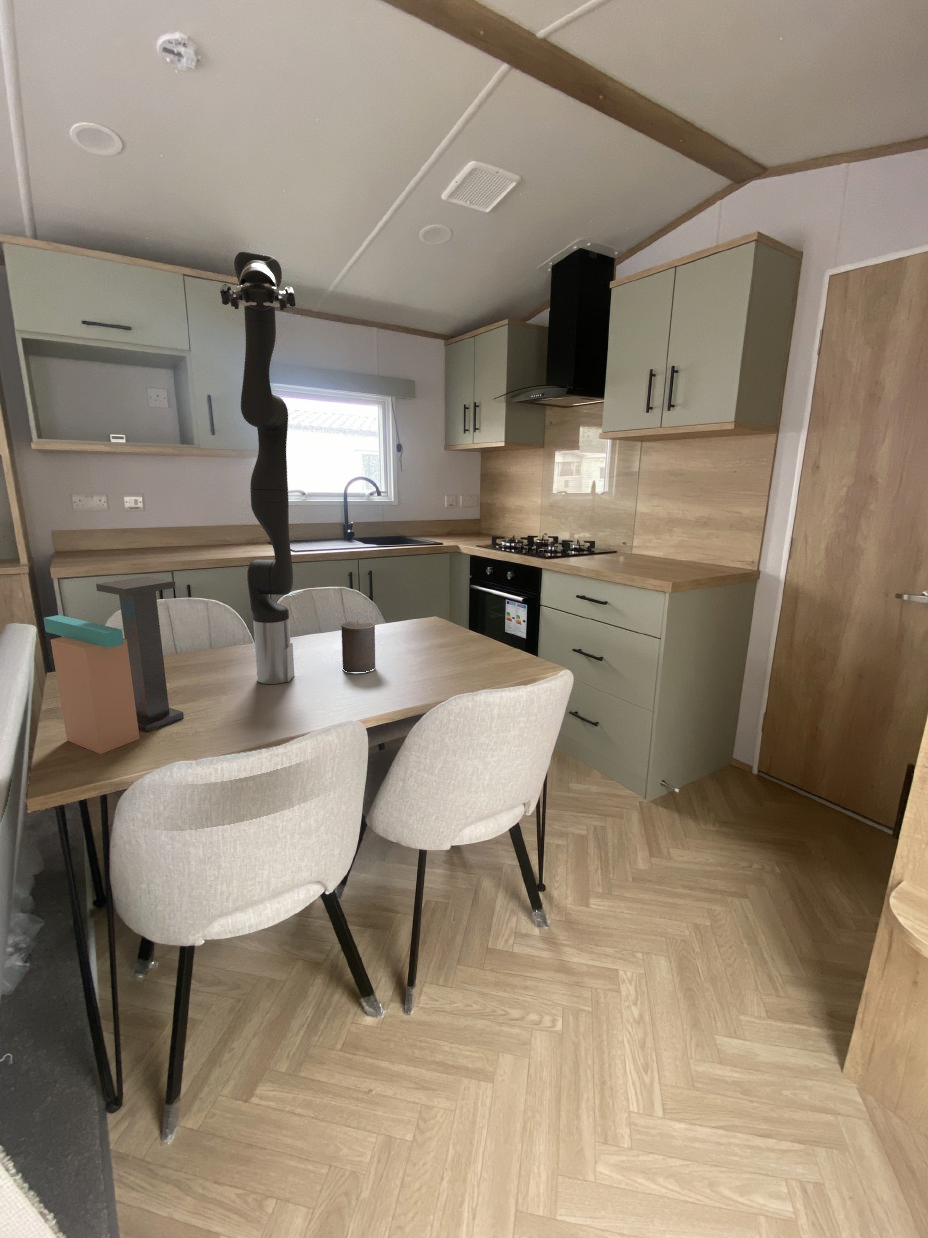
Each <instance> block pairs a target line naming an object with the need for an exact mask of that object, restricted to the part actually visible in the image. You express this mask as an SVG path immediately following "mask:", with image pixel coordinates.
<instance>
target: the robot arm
mask: <svg viewBox="0 0 928 1238" xmlns="http://www.w3.org/2000/svg"><path fill="white" fill-rule="evenodd" d="M233 261H234V262H233V268H234V273H235V277H236V278H237V281H238V284H239V285H236V287H235V288H232V287H231V286H230V285H229V284H227V283H224V284H222V285H221V287H220V289H219V293H220V297H221V303H222V305H224V306H227V305H229V304H230V307H232V308H233V307H234V310H239V309H240V308H239V307H241V306H242V307H243V308H244V309H243V310H244V329H245V331H244V332H245V350H244V351H245V353H244V367H243V368H244V369H243V376H242V385H241V386H242V387H241V394H240V396H241V397H240V412H241V415H242V417H243V419H244V420H245V422H247V424H249V425H251V426H252V427H254V428H257V437H258V452H257V453H258V454H257V458H256V460H255V461H256V462H255V464H254V467H253V470H252V473H251V477H250V486H249V487H250V507H251V510H252V511H251V512H252V513H253V515H254V517H255V518H256V520H257V522H258V523H259V524H260V526H261V527H262V529H263V530H264V532H265V533H266V535H267V536H268V539H269V540H270V542H271V545H272V549H273V554H274V559H253V560H252V561H250V563H249V565H248V567H247V573H246V575H247V577H246V578H247V580H246V581H247V586H248V587H247V589H248V593H249V602H250V603H249V604H250V610H251V613H252V618H253V619H252V622H253V624H252V625H253V637H254V639H253V640H254V650H255V651H254V652H255V665H256V676H257V681H258V683H260V684H264V685H276V684H283V683H290V682H291V680H292V679H293V677H294V676H295V662H294V660H295V659H294V646H293V645H294V644H293V642H291V631H290V629H291V627H290V612H289V608H288V607H287V606H285V605H283V604H280V603H278V602H276V601H274V600H273V599H272V598H271V597H270V596H269V595H274V596H275V595H276V596H284V595H286V596H287V595H289V594H290V593H291V591H292V590H293V585H294V584H293V583H294V569H293V561H292V552H291V550H292V549H291V544H290V542H291V540H290V526H289V525H290V524H289V521H290V520H289V517H290V516H289V515H290V514H289V513H290V512H289V510H290V509H289V506H290V505H289V504H290V503H289V485H288V464H287V462H288V461H287V444H288V443H287V442H288V441H287V440H288V426H289V424H288V423H289V410H288V407H287V405H286V402H285V401H284V399H283V398H282V397H280V396H279V395H277V394H275V393H273V392H272V386H271V380H270V369H271V367H270V366H271V361H272V357H273V353H274V349H275V345H276V340H277V339H276V334H277V331H276V330H277V329H276V328H277V326H276V308H278V307H279V310H280V311H284V310H285V309H287V308H288V305H289V307H291V308H294V307H296V295H295V291H294V289H293V287H292V286H290V285H289V286H285V288H284V290H280V289H279V288H280V286H281V284H282V279H283V276H282V275H283V273H282V271H283V270H282V267H281V264H280V262H279V261H278V259H276V257H274V256H271V255H268V254H261V253H255V252H251V251H250V252H249V251H239V252H238V253H237V254H236V255H235V257H234V260H233Z"/></svg>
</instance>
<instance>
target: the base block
mask: <svg viewBox="0 0 928 1238" xmlns="http://www.w3.org/2000/svg"><path fill="white" fill-rule="evenodd" d="M123 642H124V644H123V645H119V646H115V647H110V648H106V647H102V646H99V645H95V644H91V643H87V642H83V641H79V640H75V639H72V638H68V637H64V636H60V637H57V638H52V639H50V644H51V651H52V657H53V662H54V663H53V664H54V668H55V675H56V681H57V688H58V693H59V700H60V707H61V711H62V719H63V723H64V730H65V735H66V736H65V737H66V741H67V742H70V743H73V744H74V745H77V746H80V747H81V748H85V749H87V750H89V751H92V752H94V753H96V754H99V755H102V754H105V753H107V752H109V751H112V750H115V749H117V748H120V747H123V746H125V745H128V744H131V743H132V742H134V741H137V740H140V733H139V732H140V730H138V723H137V715H136V707H135V700H134V692H133V684H132V677H131V669H130V661H129V653H128V646H127V639H125V637H123Z"/></svg>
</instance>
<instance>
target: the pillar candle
mask: <svg viewBox="0 0 928 1238" xmlns="http://www.w3.org/2000/svg"><path fill="white" fill-rule="evenodd" d="M375 626H376V624H375V622H372V621H369V620H367V621H366V620H358V619H357V620H350V621H345V622H343V623H341V657H342V660H341V661H342V668H343V669H344V670H345V671H347V672H366V671H370V670H372V669H374V668H375V669H376V632H375V631H376V627H375Z"/></svg>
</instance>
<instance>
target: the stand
mask: <svg viewBox="0 0 928 1238" xmlns="http://www.w3.org/2000/svg"><path fill="white" fill-rule="evenodd" d="M95 586H96V587H95V588H96V592H100V593H106V594H112V595H117V596H118V598H119V605H120V614H121V620H122V628H123V629H122V630H123V635H124V636H123V638H124V639H127V646H128V653H129V661H130V669H131V677H132V684H133V692H134V700H135V707H136V715H137V723H138V731H139V732H140V731H141V732H144V733H146V734H147V733H150V732H151V731H154V730H156V729H157V730H158V729H159V728H162V727H164V726H167V725H171V723H174V722H177V721H179V720H182V719H184V717H185V716H184V711H182V710H178V709H175V708H172V707H170V705H169V704H170V703H169V695H168V686H167V678H166V671H165V670H166V669H165V661H164V652H163V645H162V635H161V634H162V633H161V627H160V626H161V625H160V617H159V607H158V599H157V592H159V591H166V590H171V589H176V581H175V580H170V579H164V578H158V577H151V576H141V577H134V578H127V579H121V580H114V581H107V582H105V581H104V582H100V583H96V584H95Z"/></svg>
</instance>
